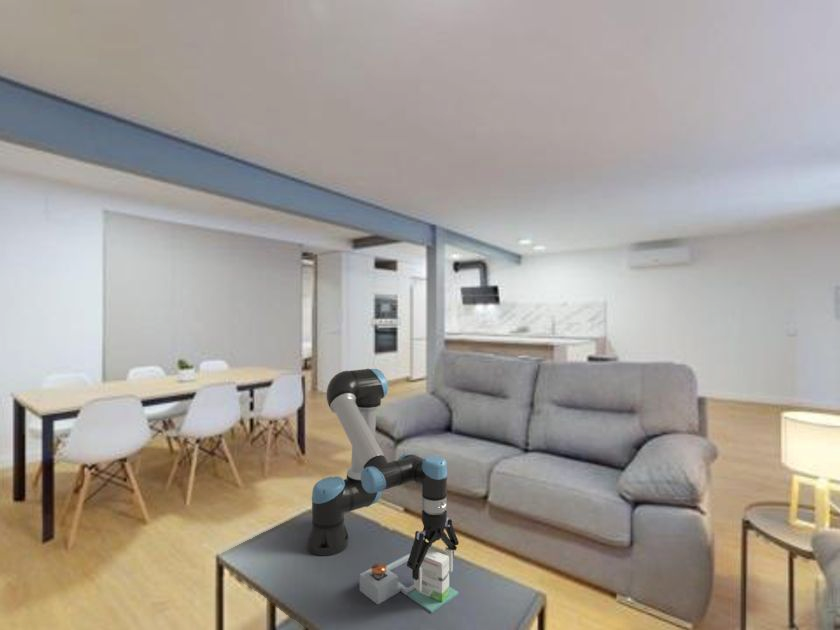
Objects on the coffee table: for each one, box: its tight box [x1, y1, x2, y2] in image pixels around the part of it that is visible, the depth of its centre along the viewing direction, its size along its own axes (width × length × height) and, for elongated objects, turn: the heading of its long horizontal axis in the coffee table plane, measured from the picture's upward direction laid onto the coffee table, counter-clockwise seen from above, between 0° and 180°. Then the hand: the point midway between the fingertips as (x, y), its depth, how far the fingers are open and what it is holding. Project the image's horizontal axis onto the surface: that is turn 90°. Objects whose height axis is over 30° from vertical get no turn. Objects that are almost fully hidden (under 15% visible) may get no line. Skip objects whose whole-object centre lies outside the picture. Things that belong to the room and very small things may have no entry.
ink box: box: [419, 548, 450, 602], centre depth 131 cm, size 9×5×12 cm, turn 56°
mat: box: [407, 586, 460, 614], centre depth 131 cm, size 10×12×1 cm
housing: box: [359, 553, 417, 605], centre depth 138 cm, size 15×24×5 cm, turn 134°
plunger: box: [371, 562, 387, 581], centre depth 133 cm, size 4×4×6 cm
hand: (433, 579), depth 131 cm, fingers open, 13 cm apart
